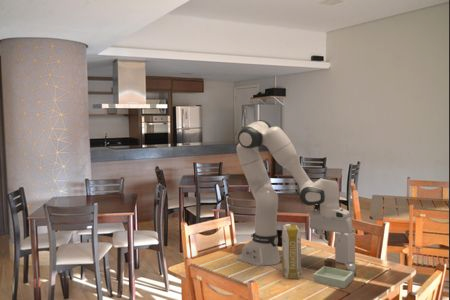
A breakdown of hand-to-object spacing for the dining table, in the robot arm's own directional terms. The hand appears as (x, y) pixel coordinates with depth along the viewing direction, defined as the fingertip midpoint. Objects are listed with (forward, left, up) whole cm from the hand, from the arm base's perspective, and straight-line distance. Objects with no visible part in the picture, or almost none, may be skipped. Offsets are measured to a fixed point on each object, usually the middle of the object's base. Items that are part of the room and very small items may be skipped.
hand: (330, 240), depth 188 cm
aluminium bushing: (+10, 0, -15) cm, 17 cm away
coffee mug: (-37, +23, -15) cm, 46 cm away
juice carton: (-12, -16, -15) cm, 25 cm away
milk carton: (+2, +15, -15) cm, 21 cm away
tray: (+6, -11, -15) cm, 19 cm away
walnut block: (0, 0, -15) cm, 15 cm away
